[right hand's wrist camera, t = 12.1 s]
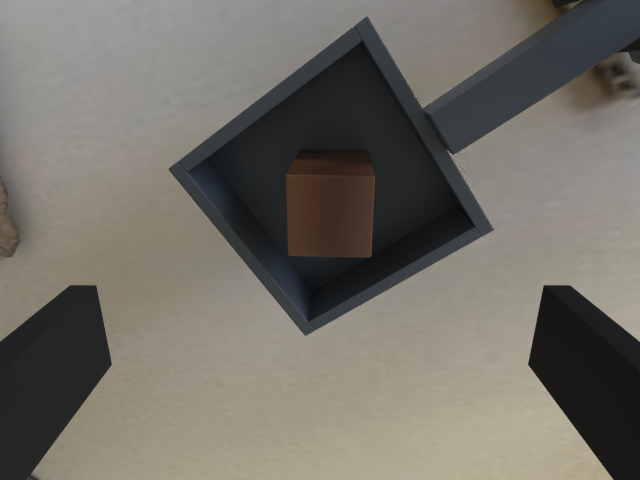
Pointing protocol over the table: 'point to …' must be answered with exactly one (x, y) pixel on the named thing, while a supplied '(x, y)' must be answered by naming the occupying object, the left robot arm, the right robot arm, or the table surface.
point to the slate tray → (380, 154)
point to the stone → (7, 226)
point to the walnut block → (330, 203)
